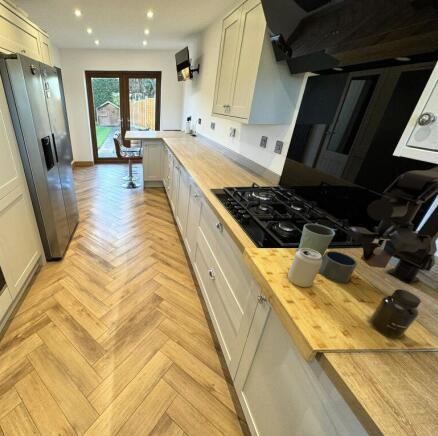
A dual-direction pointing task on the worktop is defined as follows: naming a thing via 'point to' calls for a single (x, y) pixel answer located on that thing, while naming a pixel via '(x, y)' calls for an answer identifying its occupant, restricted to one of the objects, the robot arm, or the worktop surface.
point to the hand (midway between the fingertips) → (373, 260)
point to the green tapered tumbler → (316, 237)
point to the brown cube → (378, 258)
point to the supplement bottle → (395, 313)
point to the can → (305, 267)
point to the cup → (337, 266)
